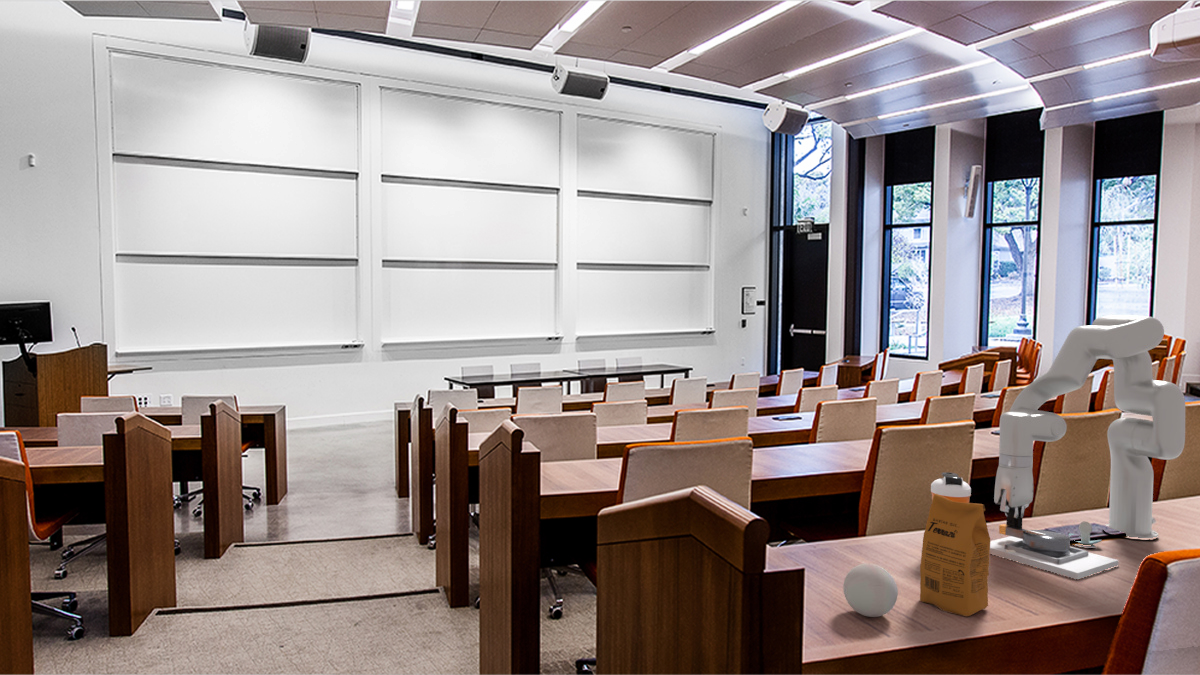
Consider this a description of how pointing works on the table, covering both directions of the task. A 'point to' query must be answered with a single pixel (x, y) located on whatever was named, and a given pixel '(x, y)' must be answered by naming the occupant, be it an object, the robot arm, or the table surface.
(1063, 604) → the table surface
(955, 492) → the shaker bottle
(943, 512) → the coffee package
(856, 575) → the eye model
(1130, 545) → the table surface
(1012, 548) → the panel
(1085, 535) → the pacifier
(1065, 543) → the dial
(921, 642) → the table surface
